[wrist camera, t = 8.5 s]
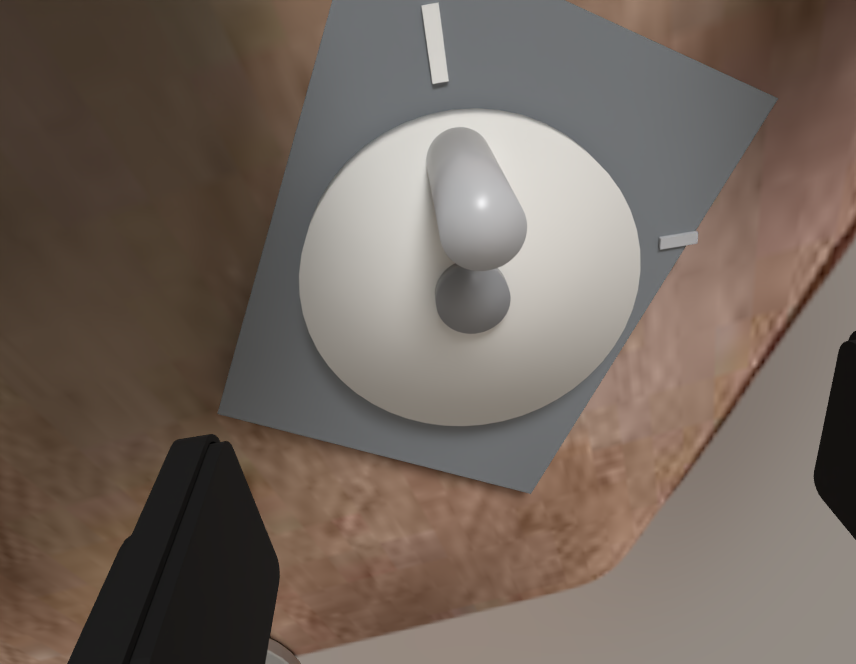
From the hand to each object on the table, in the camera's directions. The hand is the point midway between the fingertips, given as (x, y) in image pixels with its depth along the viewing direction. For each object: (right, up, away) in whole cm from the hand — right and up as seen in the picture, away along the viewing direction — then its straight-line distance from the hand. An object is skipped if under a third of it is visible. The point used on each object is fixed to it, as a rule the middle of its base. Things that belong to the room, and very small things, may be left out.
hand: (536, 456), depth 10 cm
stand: (0, +5, +19) cm, 20 cm away
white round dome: (0, +4, +17) cm, 18 cm away
